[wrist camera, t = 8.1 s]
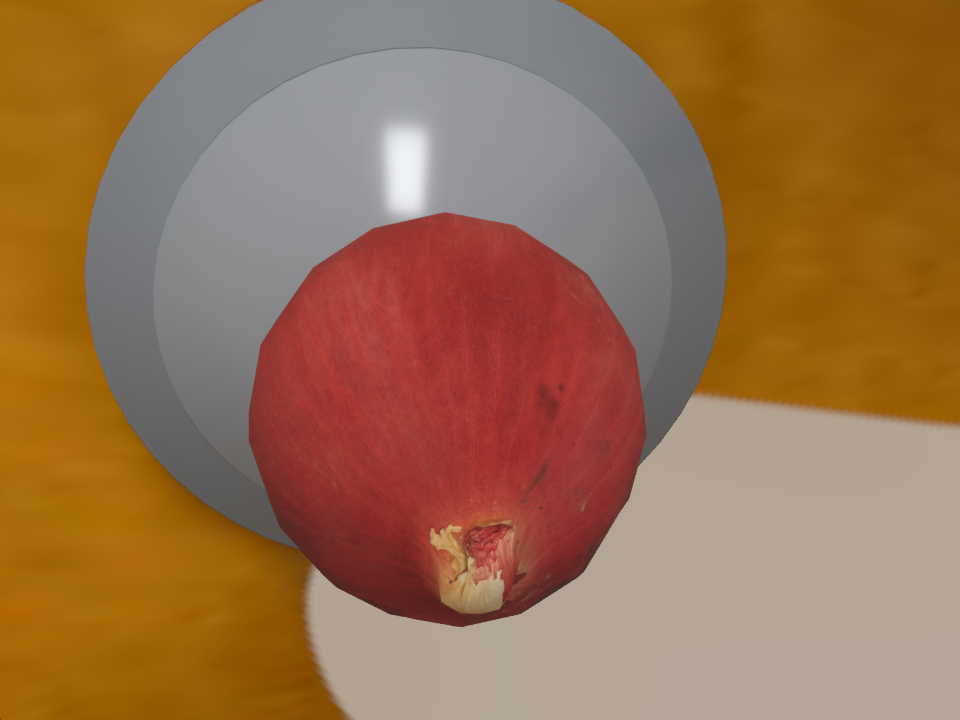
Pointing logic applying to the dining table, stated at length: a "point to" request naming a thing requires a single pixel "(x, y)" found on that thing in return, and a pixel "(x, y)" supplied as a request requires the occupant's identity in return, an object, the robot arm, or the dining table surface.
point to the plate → (383, 199)
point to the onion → (447, 419)
